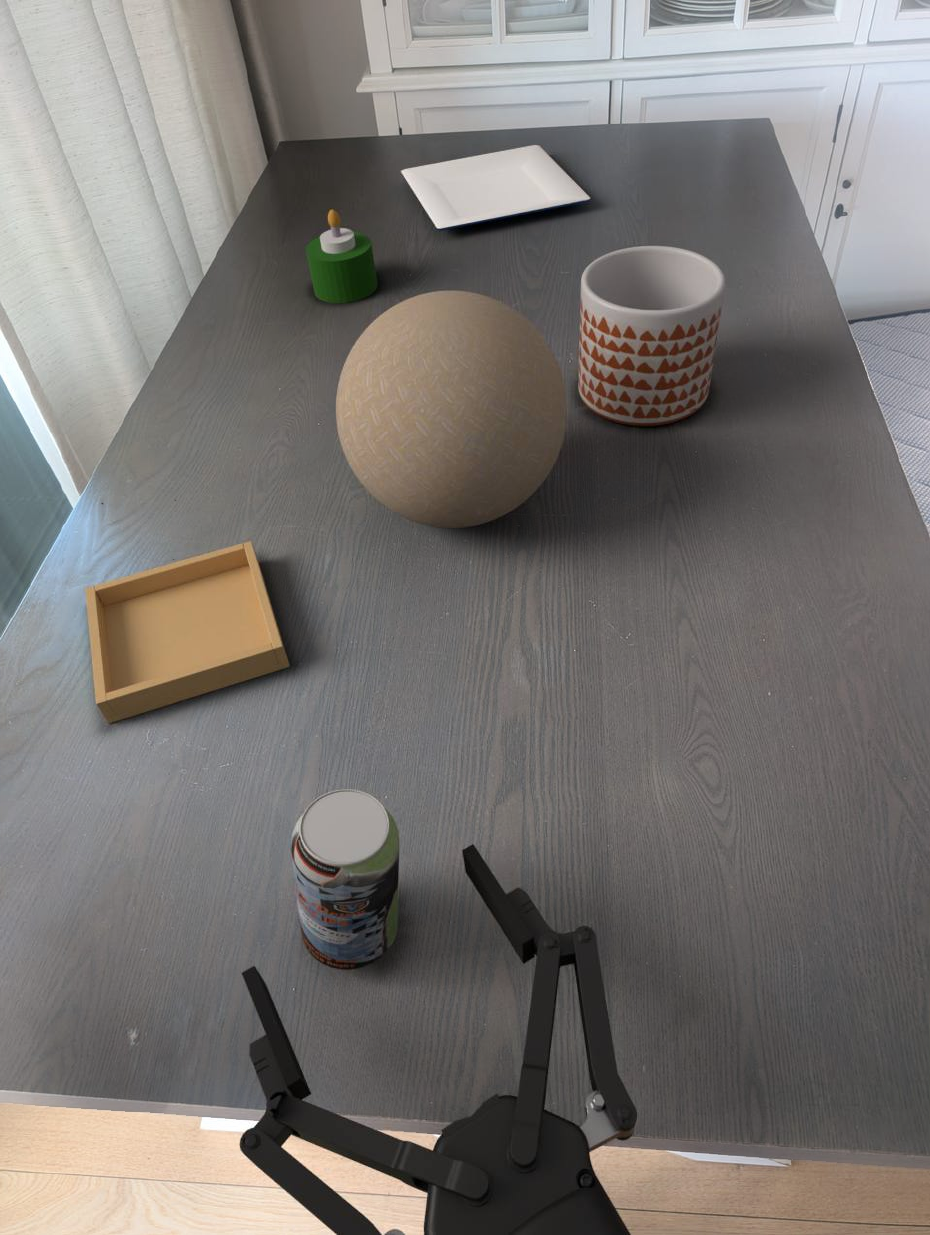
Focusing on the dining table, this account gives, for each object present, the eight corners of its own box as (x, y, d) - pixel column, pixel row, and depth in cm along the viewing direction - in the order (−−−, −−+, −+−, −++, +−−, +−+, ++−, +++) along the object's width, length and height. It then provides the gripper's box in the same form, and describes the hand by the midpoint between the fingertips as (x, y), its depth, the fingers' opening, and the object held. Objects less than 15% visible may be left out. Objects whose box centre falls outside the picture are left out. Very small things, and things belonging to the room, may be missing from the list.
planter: (611, 441, 90) (618, 325, 80) (558, 374, 99) (559, 262, 90) (733, 408, 92) (753, 292, 83) (670, 345, 101) (682, 234, 92)
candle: (328, 270, 120) (313, 194, 113) (386, 274, 118) (375, 196, 111) (304, 300, 115) (287, 222, 107) (364, 305, 113) (351, 226, 105)
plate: (590, 212, 126) (591, 197, 125) (438, 242, 123) (437, 227, 122) (538, 157, 141) (538, 143, 140) (401, 182, 138) (400, 168, 137)
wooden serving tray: (108, 724, 70) (95, 703, 68) (96, 608, 79) (85, 587, 77) (289, 667, 73) (283, 645, 71) (258, 561, 81) (251, 540, 80)
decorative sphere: (379, 597, 77) (338, 399, 63) (339, 463, 91) (298, 274, 76) (597, 543, 80) (607, 341, 65) (527, 421, 93) (522, 230, 79)
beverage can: (287, 930, 57) (239, 836, 49) (376, 856, 60) (346, 755, 52) (346, 1002, 54) (307, 915, 45) (437, 919, 57) (416, 824, 48)
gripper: (327, 1529, 37) (175, 1057, 50) (787, 1173, 44) (549, 843, 57) (288, 1543, 31) (129, 1009, 44) (821, 1134, 39) (549, 779, 52)
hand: (365, 915), depth 51 cm, fingers open, 13 cm apart
